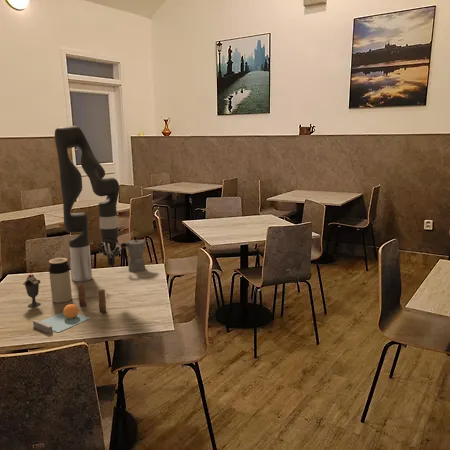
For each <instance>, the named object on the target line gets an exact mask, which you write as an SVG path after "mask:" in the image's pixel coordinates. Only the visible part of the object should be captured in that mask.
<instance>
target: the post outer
mask: <svg viewBox="0 0 450 450" xmlns="http://www.w3.org/2000/svg"><path fill="white" fill-rule="evenodd" d="M97 295H98V307H99V308H98V309H99V310H98V311H99V314H105V313H107V305H106V301H107V300H106V291H105V289H98V291H97Z"/></svg>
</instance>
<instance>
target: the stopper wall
mask: <svg viewBox="0 0 450 450" xmlns="http://www.w3.org/2000/svg"><path fill="white" fill-rule="evenodd" d="M40 321H41V320H37V319H34V320H32V324H33V325H32V327H33V328H35V329H37V330H40V331H42V332H45V333H46V334H49V335H50V334H52V333H53V331H52V326H50V325H48V324H45V323H43V322H40Z"/></svg>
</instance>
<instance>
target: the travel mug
mask: <svg viewBox="0 0 450 450" xmlns="http://www.w3.org/2000/svg"><path fill="white" fill-rule="evenodd" d="M48 264H49V267H48V272H49V282H50V291H51V299H52V302H53V303H57V304H60V303H61V304H63V303H67V302H69V301H71V300H72V299H73V296H72V283H71V271H70V265H69V264H68V258H67V257H55V258H52V259H50V260H48Z"/></svg>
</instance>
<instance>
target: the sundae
mask: <svg viewBox="0 0 450 450" xmlns="http://www.w3.org/2000/svg"><path fill="white" fill-rule="evenodd" d="M29 271H30V273H29V274H28V276H27V278H26V279H25V281H24V282H23V284H22V286H25V287H24V288H25V290H26V293H27V296H28V297H30V298H31V303H29V304H27V307H28V308H37V307H39V306H41V304H42V303H41V302H37V301H36V297H38V295H39V292H40V291H39V289H40V288H39V286H40V284H41V280H40V279H37V278H36V277H35V275H34V274H33V271H32V269H30V270H29Z"/></svg>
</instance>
